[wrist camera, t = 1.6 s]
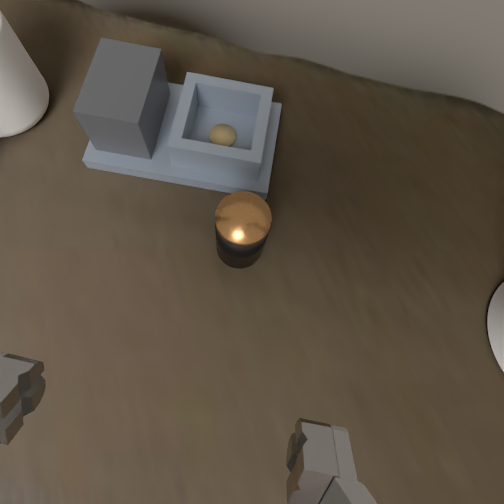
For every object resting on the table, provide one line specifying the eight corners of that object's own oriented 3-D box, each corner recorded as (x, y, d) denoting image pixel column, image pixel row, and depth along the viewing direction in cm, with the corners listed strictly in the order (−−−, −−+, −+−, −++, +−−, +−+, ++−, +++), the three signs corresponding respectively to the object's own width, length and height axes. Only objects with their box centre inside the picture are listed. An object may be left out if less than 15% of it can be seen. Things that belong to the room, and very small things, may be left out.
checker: (279, 112, 42) (291, 61, 35) (265, 199, 38) (275, 163, 31) (117, 82, 42) (95, 24, 34) (87, 167, 38) (56, 122, 31)
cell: (264, 229, 37) (275, 196, 30) (258, 272, 36) (267, 248, 28) (221, 222, 37) (220, 186, 30) (212, 264, 36) (209, 238, 28)
